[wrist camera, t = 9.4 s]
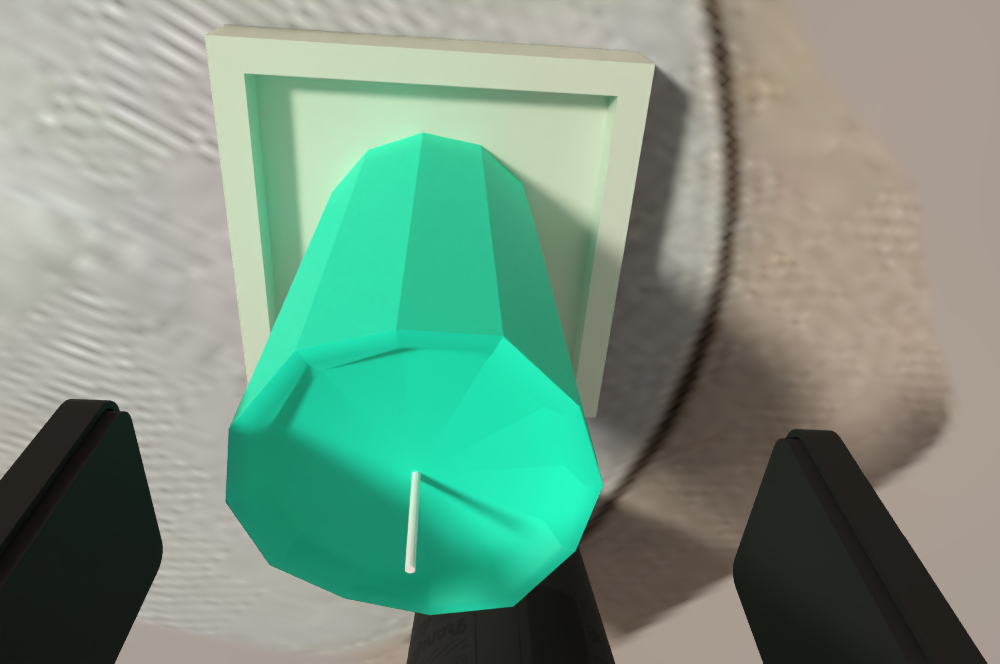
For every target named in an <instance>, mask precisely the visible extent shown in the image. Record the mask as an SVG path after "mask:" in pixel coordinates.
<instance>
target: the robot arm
mask: <svg viewBox="0 0 1000 664" xmlns="http://www.w3.org/2000/svg"><path fill="white" fill-rule="evenodd" d="M162 553H163V545H162V540H161V535H160V531H159V527H158V523H157V519H156V515H155V511H154V507H153V503H152V499H151V495H150V491H149V487H148V483H147V479H146V475H145V471H144V467H143V463H142V459H141V455H140V451H139V447H138V443H137V439H136V435H135V430H134V426H133V422H132V419H131V416H130V415H129V413H128V412H125V411H120V410H119V408H118V406H117V404H116V403H115V402H113V401H109V400H85V399H69V400H66V401H65V402H64V403H63V404H61V405H60V407H59V408H58V409H57V410H56V412H55V413H54V414H53V415H52V417H51V418H50V419H49V420H48V422H47V423H46V424H45V425H44V427H43V428H42V429H41V430H40V432H39V433H38V434H37V435H36V436H35V438H34V439H33V440H32V441H31V443H30V444H29V445H28V446H27V448H26V449H25V450H24V451H23V453H22V454H21V455H20V456H19V458H18V459H17V460H16V461H15V463H14V464H13V465H12V466H11V468H10V469H9V470H8V471H7V473H6V474H5V475H4V476H3V478H2V479H1V480H0V664H115V661H116V659H117V657H118V655H119V653H120V651H121V648H122V647H123V644H124V642H125V640H126V638H127V636H128V634H129V632H130V629H131V627H132V625H133V623H134V621H135V619H136V617H137V615H138V612H139V610H140V608H141V606H142V604H143V602H144V600H145V597H146V595H147V593H148V591H149V589H150V587H151V585H152V583H153V580H154V578H155V576H156V574H157V572H158V569H159V567H160V564H161V560H162ZM733 578H734V583H735V587H736V590H737V592H738V595H739V598H740V600H741V603H742V606H743V609H744V611H745V614H746V617H747V620H748V623H749V625H750V628H751V631H752V633H753V636H754V639H755V642H756V645H757V647H758V650H759V653H760V655H761V658H762V661H763V664H987V662H986V661H985V659H984V658H983V656H982V655H981V653H980V651H979V650H978V648H977V647H976V645H975V644H974V642H973V641H972V639H971V638H970V636H969V635H968V633H967V632H966V630H965V628H964V627H963V625H962V624H961V622H960V621H959V619H958V618H957V616H956V615H955V613H954V611H953V610H952V608H951V607H950V605H949V604H948V602H947V601H946V600H945V598H944V596H943V595H942V593H941V592H940V590H939V588H938V587H937V585H936V584H935V582H934V581H933V579H932V578H931V576H930V575H929V573H928V572H927V570H926V568H925V567H924V565H923V564H922V562H921V561H920V559H919V558H918V556H917V555H916V553H915V552H914V550H913V548H912V547H911V545H910V544H909V542H908V541H907V539H906V538H905V536H904V535H903V534H902V532H901V531H900V529H899V528H898V526H897V524H896V523H895V521H894V520H893V518H892V517H891V515H890V514H889V512H888V511H887V509H886V508H885V506H884V505H883V503H882V502H881V500H880V499H879V497H878V495H877V494H876V492H875V491H874V489H873V488H872V486H871V484H870V483H869V481H868V480H867V478H866V477H865V475H864V474H863V472H862V471H861V469H860V468H859V466H858V464H857V463H856V461H855V460H854V458H853V457H852V455H851V454H850V452H849V451H848V449H847V448H846V446H845V444H844V443H843V441H842V440H841V438H840V437H839V436H838V435H837V434H836V433H835V432H833V431H828V430H804V429H795V430H792V431H791V432H790V433H788V435H787V437H786V439H785V438H782V439H779V440H778V441H777V442H776V444H775V446H774V449H773V451H772V454H771V457H770V460H769V463H768V466H767V468H766V471H765V474H764V477H763V480H762V483H761V486H760V488H759V491H758V494H757V497H756V500H755V503H754V505H753V508H752V511H751V514H750V517H749V520H748V523H747V525H746V528H745V531H744V534H743V537H742V540H741V542H740V545H739V548H738V551H737V554H736V557H735V560H734V564H733Z"/></svg>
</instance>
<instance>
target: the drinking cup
mask: <svg viewBox="0 0 1000 664" xmlns="http://www.w3.org/2000/svg"><path fill="white" fill-rule="evenodd" d="M407 664H615V661H614V658H613V655H612V652H611V648H610V645H609V642H608V639H607V636H606V633H605V629H604V626H603V623H602V620H601V617H600V613H599V610H598V607H597V604H596V601H595V598H594V594H593V591H592V588H591V585H590V582H589V579H588V575H587V572H586V569H585V566H584V563H583V559H582V556H581V553H580V550H579V547H578V546H577V549H576V551H575V552H574V553H573V554H572V555H570V556H569V557H568V558H567V559H566V560H565V561H564V562H563V563H561V564H560V565H559V566H558V567H557V568H556V569H555V570H554V571H553V572H551V573H550V574H549V575H548V576H547V577H546V578H545V579H544V580H542V581H541V582H540V583H539V584H538V585H537V586H536V587H535V588H534V589H532V590H531V591H530V592H529V593H528V594H527V595H526V596H525V597H523V598H522V599H521V600H520V601H519V602H518V603H517V604H516V605H515V606H513V607H504V608H495V609H485V610H475V611H465V612H456V613H446V614H436V615H427V614H422V613H417V612H415V616H414V622H413V628H412V634H411V640H410V646H409V653H408V659H407Z"/></svg>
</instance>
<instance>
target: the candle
mask: <svg viewBox="0 0 1000 664" xmlns="http://www.w3.org/2000/svg"><path fill="white" fill-rule="evenodd" d="M602 487H603V482H602V478H601V474H600V471H599V467H598V463H597V459H596V455H595V451H594V448H593V444H592V440H591V436H590V432H589V429H588V425H587V421H586V417H585V413H584V410H583V406H582V402H581V398H580V394H579V391H578V387H577V383H576V379H575V375H574V371H573V368H572V364H571V360H570V356H569V352H568V349H567V345H566V341H565V337H564V333H563V330H562V326H561V322H560V318H559V314H558V311H557V307H556V303H555V299H554V295H553V291H552V288H551V284H550V280H549V276H548V272H547V269H546V265H545V261H544V257H543V253H542V250H541V246H540V242H539V238H538V234H537V231H536V227H535V224H534V221H533V217H532V214H531V210H530V207H529V204H528V200H527V197H526V193H525V190H524V187H523V183H522V182H521V181H520V180H519V179H518V178H516V177H515V176H514V175H513V174H512V173H511V172H510V171H509V170H508V169H507V168H505V167H504V166H503V165H502V164H501V163H500V162H499V161H498V160H497V159H496V158H494V157H493V156H492V155H491V154H490V153H489V152H488V151H487V150H486V149H485V148H484V147H482V146H481V145H479V144H474V143H469V142H465V141H460V140H456V139H451V138H447V137H442V136H438V135H433V134H428V133H424V132H423V133H419V134H416V135H413V136H410V137H407V138H404V139H401V140H398V141H394V142H391V143H388V144H385V145H382V146H379V147H376V148H372V149H369V150H367V151H366V153H365V154H364V155H363V156H362V157H361V158H360V160H359V161H358V162H357V163H356V164H355V165H354V167H353V168H352V169H351V170H350V171H349V172H348V174H347V175H346V176H345V177H344V178H343V180H342V181H341V182H340V183H339V184H338V185H337V187H336V188H335V189H334V190H333V191H332V193H331V195H330V198H329V200H328V202H327V204H326V207H325V209H324V211H323V214H322V216H321V218H320V221H319V223H318V225H317V227H316V230H315V232H314V234H313V237H312V239H311V241H310V244H309V246H308V248H307V251H306V253H305V255H304V257H303V260H302V262H301V264H300V267H299V269H298V271H297V274H296V276H295V278H294V280H293V283H292V285H291V287H290V290H289V292H288V294H287V297H286V299H285V301H284V303H283V306H282V308H281V310H280V313H279V315H278V317H277V320H276V322H275V324H274V326H273V329H272V331H271V333H270V336H269V338H268V340H267V343H266V345H265V347H264V349H263V352H262V354H261V356H260V359H259V361H258V363H257V366H256V368H255V370H254V372H253V375H252V377H251V379H250V382H249V384H248V386H247V389H246V391H245V393H244V395H243V398H242V400H241V402H240V405H239V407H238V409H237V412H236V414H235V416H234V418H233V421H232V423H231V425H230V428H229V437H228V459H227V482H226V503H227V505H228V506H229V508H230V509H231V510H232V512H233V513H234V515H235V516H236V518H237V519H238V520H239V522H240V523H241V525H242V526H243V528H244V529H245V530H246V532H247V533H248V535H249V536H250V538H251V539H252V540H253V542H254V543H255V545H256V546H257V548H258V549H259V551H260V552H261V553H262V555H263V556H264V558H265V559H266V561H267V562H268V563H269V565H271V566H273V567H275V568H277V569H280V570H282V571H284V572H286V573H289V574H291V575H293V576H295V577H298V578H300V579H302V580H304V581H307V582H309V583H311V584H313V585H316V586H318V587H320V588H322V589H325V590H327V591H329V592H331V593H334V594H336V595H338V596H340V597H343V598H345V599H351V600H356V601H361V602H366V603H371V604H376V605H381V606H386V607H391V608H396V609H401V610H406V611H412V612H417V613H422V614H427V615H436V614H446V613H456V612H465V611H475V610H485V609H495V608H504V607H513V606H515V605H516V604H517V603H518V602H519V601H520V600H521V599H522V598H523V597H525V596H526V595H527V594H528V593H529V592H530V591H531V590H532V589H534V588H535V587H536V586H537V585H538V584H539V583H540V582H541V581H542V580H544V579H545V578H546V577H547V576H548V575H549V574H550V573H551V572H553V571H554V570H555V569H556V568H557V567H558V566H559V565H560V564H561V563H563V562H564V561H565V560H566V559H567V558H568V557H569V556H570V555H572V554H573V553H574V552H575V551H576V549H577V546H578V544H579V542H580V539H581V537H582V534H583V532H584V530H585V527H586V525H587V523H588V520H589V518H590V515H591V513H592V511H593V508H594V506H595V504H596V501H597V499H598V496H599V494H600V492H601V489H602Z"/></svg>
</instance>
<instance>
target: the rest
mask: <svg viewBox="0 0 1000 664" xmlns="http://www.w3.org/2000/svg"><path fill="white" fill-rule="evenodd" d="M205 41H206V50H207V58H208V66H209V74H210V82H211V90H212V98H213V106H214V114H215V123H216V131H217V139H218V147H219V155H220V163H221V171H222V179H223V187H224V196H225V204H226V212H227V220H228V228H229V236H230V244H231V252H232V260H233V269H234V277H235V285H236V293H237V301H238V309H239V317H240V325H241V333H242V342H243V350H244V358H245V366H246V374H247V382H248V384H249V382H250V379H251V377H252V375H253V372H254V370H255V368H256V366H257V363H258V361H259V359H260V356H261V354H262V352H263V349H264V347H265V345H266V343H267V340H268V338H269V336H270V333H271V331H272V329H273V326H274V324H275V322H276V320H277V317H278V315H279V313H280V310H281V308H282V306H283V303H284V301H285V299H286V297H287V294H288V292H289V290H290V287H291V285H292V283H293V280H294V278H295V276H296V274H297V271H298V269H299V267H300V264H301V262H302V260H303V257H304V255H305V253H306V251H307V248H308V246H309V244H310V241H311V239H312V237H313V234H314V232H315V230H316V227H317V225H318V223H319V221H320V218H321V216H322V214H323V211H324V209H325V207H326V204H327V202H328V200H329V198H330V195H331V193H332V191H333V190H334V189H335V188H336V187H337V185H338V184H339V183H340V182H341V181H342V180H343V178H344V177H345V176H346V175H347V174H348V172H349V171H350V170H351V169H352V168H353V167H354V165H355V164H356V163H357V162H358V161H359V160H360V158H361V157H362V156H363V155H364V154H365V153H366V151H367V150H369V149H372V148H376V147H379V146H382V145H385V144H388V143H391V142H394V141H398V140H401V139H404V138H407V137H410V136H413V135H416V134H419V133H423V132H424V133H428V134H433V135H438V136H442V137H447V138H451V139H456V140H460V141H465V142H469V143H474V144H479V145H481V146H482V147H484V148H485V149H486V150H487V151H488V152H489V153H490V154H491V155H492V156H493V157H494V158H496V159H497V160H498V161H499V162H500V163H501V164H502V165H503V166H504V167H505V168H507V169H508V170H509V171H510V172H511V173H512V174H513V175H514V176H515V177H516V178H518V179H519V180H520V181H521V182H522V183H523V187H524V190H525V193H526V197H527V200H528V204H529V207H530V210H531V214H532V217H533V221H534V224H535V227H536V231H537V234H538V238H539V242H540V246H541V250H542V253H543V257H544V261H545V265H546V269H547V272H548V276H549V280H550V284H551V288H552V291H553V295H554V299H555V303H556V307H557V311H558V314H559V318H560V322H561V326H562V330H563V333H564V337H565V341H566V345H567V349H568V352H569V356H570V360H571V364H572V368H573V371H574V375H575V379H576V383H577V387H578V391H579V394H580V398H581V402H582V406H583V410H584V413H585V417H594V418H596V414H597V408H598V402H599V397H600V391H601V385H602V379H603V373H604V367H605V361H606V355H607V349H608V343H609V337H610V331H611V325H612V319H613V313H614V307H615V301H616V295H617V289H618V283H619V277H620V271H621V266H622V260H623V254H624V248H625V242H626V236H627V230H628V224H629V218H630V212H631V206H632V200H633V194H634V188H635V182H636V176H637V170H638V164H639V158H640V152H641V146H642V140H643V134H644V129H645V123H646V117H647V111H648V105H649V99H650V93H651V87H652V81H653V75H654V69H655V64H654V63H653V62H652V61H650V60H649V59H648V58H646V57H645V56H644V55H642V54H641V53H640V52H631V51H616V50H601V49H586V48H571V47H556V46H541V45H526V44H511V43H496V42H481V41H466V40H451V39H436V38H421V37H405V36H390V35H375V34H360V33H345V32H330V31H315V30H300V29H285V28H270V27H255V26H240V25H224V26H222V27H220V28H218V29H216V30H214V31H212V32H210V33H208V34H206V35H205Z"/></svg>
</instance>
